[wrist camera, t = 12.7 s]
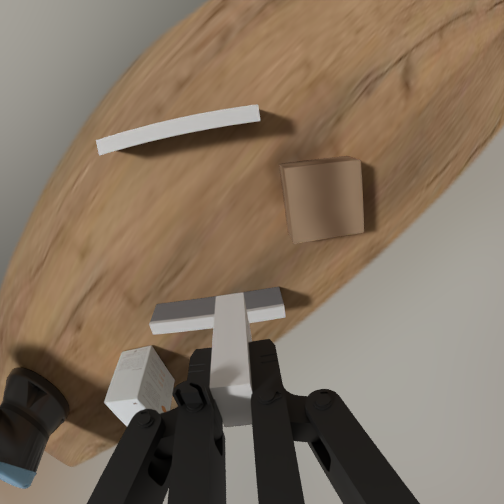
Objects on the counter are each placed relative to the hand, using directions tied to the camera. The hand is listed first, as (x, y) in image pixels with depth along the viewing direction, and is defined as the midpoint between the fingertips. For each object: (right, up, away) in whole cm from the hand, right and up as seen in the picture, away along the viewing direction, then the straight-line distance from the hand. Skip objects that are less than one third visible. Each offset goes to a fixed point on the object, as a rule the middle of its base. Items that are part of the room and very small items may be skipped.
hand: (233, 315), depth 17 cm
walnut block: (+8, +10, +17) cm, 22 cm away
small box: (-15, -14, +26) cm, 33 cm away
